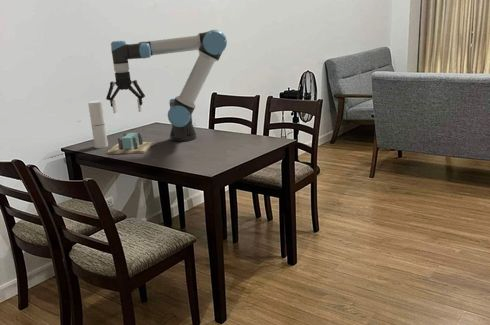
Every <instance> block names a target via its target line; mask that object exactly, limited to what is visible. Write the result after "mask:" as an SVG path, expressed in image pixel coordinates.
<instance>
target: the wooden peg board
mask: <svg viewBox="0 0 490 325" xmlns="http://www.w3.org/2000/svg"><path fill="white" fill-rule="evenodd" d="M127 134H128V133H123V137H124V136H126V135H127ZM137 134H138V142H139V143H138V144H137V138H136V137H133V146H134V148H132V149H123V143H122V138H123V137H118V138H117V141H118V142H117V144H115V145H114V146H113V147H111V148H110V149H109V150H108V151H107V152H106V153H107V155H112V154H113V155H115V154H116V155H117V154H120V155H121V154H123V155H124V154H145V153H146V152H147V151H148V150H149V149H151V148H152V147H153V146H154V145H155V141H143V134H142V132H139V133H138V132H137ZM151 146H152V147H151Z"/></svg>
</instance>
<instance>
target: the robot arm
mask: <svg viewBox="0 0 490 325" xmlns="http://www.w3.org/2000/svg"><path fill="white" fill-rule="evenodd" d="M227 42H228V41H227V37H226V36H225V34H224V33H223V32H222V31H221V30H218V29H211V30H209V31H205V32H199V33H197V35H192V36H182V37H175V38H174V37H173V38H167V39H165V38H164V39H157V40H148V41H139V42H138V43H130V44H127V43H126V40H114V41H112V42H110V46H111V47H110V49H111V55H112V56H111V57H112V64H113V69H114V70H113V71H114V72H115V73H114V76H115V81H110V82H109V88H108V91H107V94H106V98H105V100H108V101H109V102H110V107H111V108H112V111H113V114H116V113H117V112H118V111H117V105H116V100H115V97H116V96H117V94H118V93H119V91H120V90H121V91H123V90H125V91H126V90H129V91H130V92H131V93H132V94H133V95H134V96H135V97H137V98H136V99H137V108H138V112H142V111H143V110H142V105H143V98H145V97H146V95H145V94H144V92H143V90H142V88H141V87H140V85H139V84H138V80H137V79H134V80H132V79H131V73H130V66H129V65H130V64H129V60H137V59H147V58H148V59H149V58H151V56H158V55H167V54H175V53H176V54H177V53H183V52H191V51H192V52H193V51H198V54H199V55H198V57H197V59H196V61H195V63H194V65H193V67H192V69H191V71H190V73H189V74H188V78H187V79H186V81H185V84H184V86H183V88H182V90H181V92H180V94H179V95H177V96H175V98H170V99H169V103H168V104H169V110H168V111H167V119H168V121H169V123H170V124H171V129H170V134H169V140H170V141H172V142H188V141H193V140H195V139H197V136H198V134H197V131H196V128H195V126H194V125H193V112H194V111H195V109H196V104H195V102H196V100H197V98H198V96H199V94H200V92H201V90H202V88H203V86H204V85H205V83H206V80H207V78H208V76H209V74H210V72H211V70H212V68H213V65H214V64H215V63H216V62H219V60H220V59H221V56H222V54H223V53H224V51H225V50H226V47H227V44H228V43H227ZM132 85H133V86H134V87H135V88H134V87H133V86H132ZM115 86H116V89H115V91H114V92H113V90H114V87H115ZM136 90H137V91H136Z"/></svg>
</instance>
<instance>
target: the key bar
mask: <svg viewBox="0 0 490 325" xmlns="http://www.w3.org/2000/svg"><path fill="white" fill-rule="evenodd" d="M126 134H127V135H126V136H124V135H123V137H121V138H122V143H123V149H132V148H134V146H133V137H136V138H137V144H138V143H139V139H138V132H128V133H126Z"/></svg>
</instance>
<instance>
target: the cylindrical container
mask: <svg viewBox="0 0 490 325" xmlns="http://www.w3.org/2000/svg"><path fill="white" fill-rule="evenodd" d="M87 103H88V110H89V111H88V112H89V117H90V123H91V131H92V137H93V138H92V139H93V145H94V149H103V148H107V147H109V143H108V142H109V141H108V135H107V130H106V129H107V128H106V122H105V115H104V107H103V101H102V100H92V101H88V102H87Z"/></svg>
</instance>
